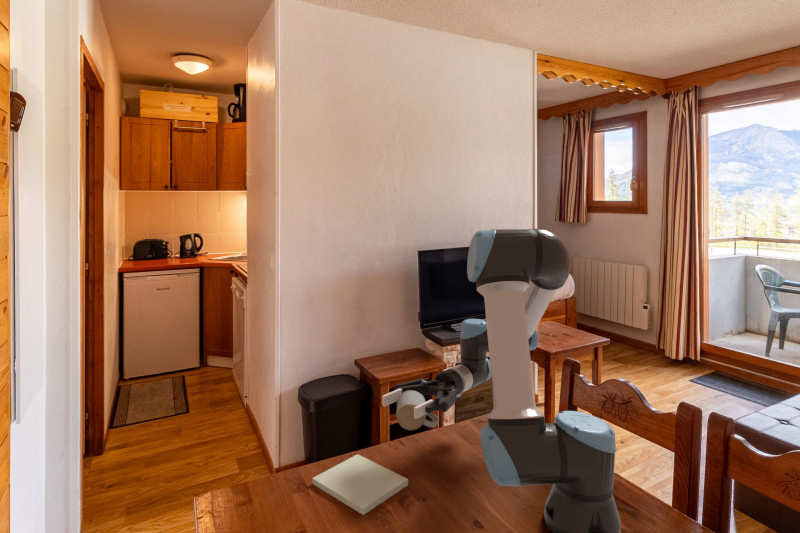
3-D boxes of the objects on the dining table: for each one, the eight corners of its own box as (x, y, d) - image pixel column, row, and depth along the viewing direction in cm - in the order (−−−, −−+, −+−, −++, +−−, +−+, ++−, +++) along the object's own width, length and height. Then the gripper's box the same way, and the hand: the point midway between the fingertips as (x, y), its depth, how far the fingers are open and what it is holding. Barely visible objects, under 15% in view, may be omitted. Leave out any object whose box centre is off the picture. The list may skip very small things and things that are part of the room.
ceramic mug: (396, 432, 118) (396, 402, 117) (397, 417, 126) (397, 389, 125) (439, 432, 118) (439, 403, 117) (437, 417, 126) (437, 389, 125)
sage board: (408, 485, 117) (408, 479, 116) (363, 515, 106) (362, 508, 105) (357, 459, 129) (357, 454, 128) (312, 483, 118) (312, 478, 117)
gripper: (487, 405, 127) (434, 436, 111) (422, 384, 143) (367, 408, 127) (487, 378, 126) (434, 405, 110) (422, 360, 142) (367, 381, 126)
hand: (398, 407), depth 119 cm, fingers closed on ceramic mug, 10 cm apart
